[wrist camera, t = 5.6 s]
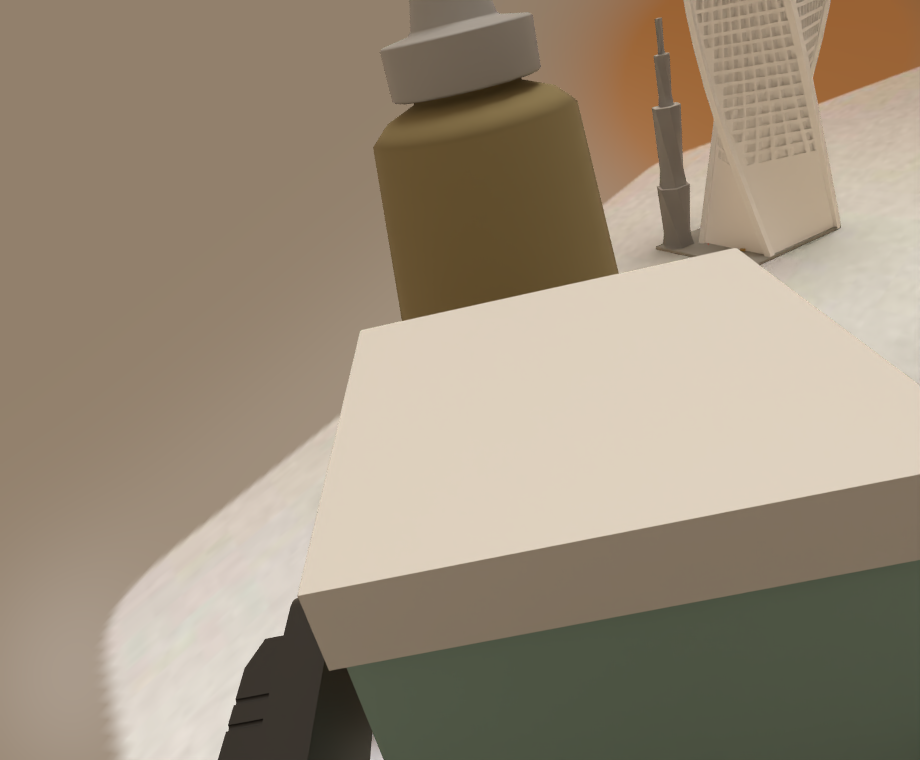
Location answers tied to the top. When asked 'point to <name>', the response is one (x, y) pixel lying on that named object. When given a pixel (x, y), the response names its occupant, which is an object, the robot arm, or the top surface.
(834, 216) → the skyscraper
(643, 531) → the tin
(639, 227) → the top surface
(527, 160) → the squeeze bottle
